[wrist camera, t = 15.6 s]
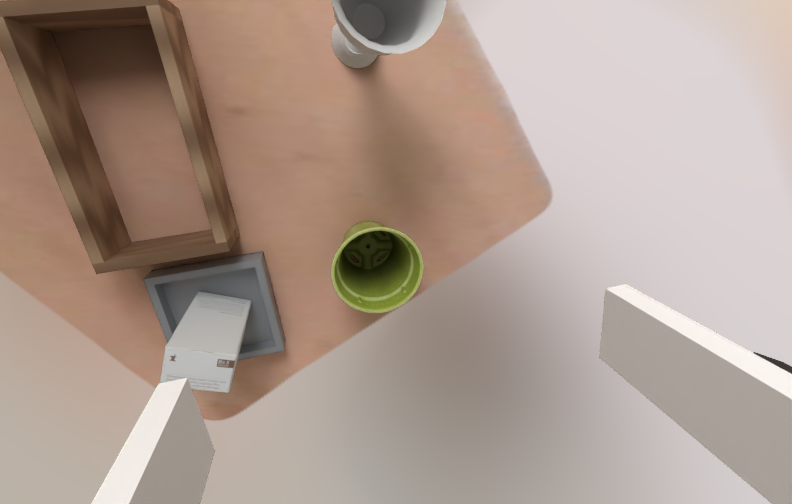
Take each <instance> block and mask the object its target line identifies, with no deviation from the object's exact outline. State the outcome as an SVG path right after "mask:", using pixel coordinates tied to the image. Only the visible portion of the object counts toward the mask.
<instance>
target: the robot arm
mask: <svg viewBox="0 0 792 504" xmlns="http://www.w3.org/2000/svg"><path fill="white" fill-rule="evenodd" d="M599 358H600V359H601V360H603V361H604V362H605V363H606V364H608V366H610V367H611V368H612V369H613V370H614V371H616V372H617V373H618V374H619V375H620V376H622V377H623V378H624V379H625V380H626V381H627V382H629V383H630V384H631V385H632V386H634V387H635V388H636V389H637V390H638V391H639V392H640V393H642V394H643V395H644V396H645V397H646V398H647V399H649V400H650V401H651V402H652V403H653V404H655V405H656V406H657V407H658V408H660V410H662V411H663V412H664V413H665V414H666V415H668V416H669V417H670V418H671V419H672V420H674V421H675V422H676V423H677V424H678V425H679V426H681V427H682V428H683V429H684V430H685V431H687V432H688V433H689V434H690V435H691V436H692V437H694V438H695V439H696V440H697V441H698V442H699V443H701V444H702V445H703V446H704V447H705V448H707V449H708V450H709V451H710V452H711V453H712V454H714V455H715V456H716V457H717V458H718V459H720V460H721V461H722V462H723V463H724V464H725V465H727V466H728V467H729V468H730V469H731V470H733V471H734V472H735V473H736V474H737V475H738V476H740V477H741V478H742V479H743V480H744V481H746V482H747V483H748V484H749V485H750V486H751V487H753V488H754V489H755V490H756V491H758V492H759V493H760V494H761V495H762V496H763V497H765V498H766V499H767V500H768V501H769V502H770V503H772V504H792V367H791V366H789V365H787V364H785V363H783V362H781V361H778V360H775V359H772V358H769V357H766V356H764V355H761V354H758V353H755V352H754V353H752V352H750V351H748V350H746V349H745V348H743V347H741V346H739V345H737V344H735V343H734V342H732V341H730V340H728V339H726V338H724V337H722V336H721V335H718V334H717V333H715V332H713V331H711V330H710V329H708V328H706V327H704V326H702V325H700V324H698V323H696V322H695V321H693V320H691V319H689V318H687V317H686V316H684V315H682V314H680V313H678V312H676V311H674V310H673V309H671V308H669V307H667V306H665V305H663V304H662V303H659V302H658V301H656V300H654V299H652V298H650V297H649V296H647V295H645V294H643V293H641V292H639V291H638V290H635V289H634V288H632V287H630V286H628V285H626V284H624V285H619V286H615V287H610V288H606V289H605V298H604V311H603V322H602V332H601V344H600V355H599ZM214 452H215V450H214V448H213V445H212V442H211V440H210V437H209V434H208V431H207V428H206V426H205V424H204V420H203V418H202V415H201V412H200V410H199V407H198V404H197V402H196V399H195V396H194V394H193V391H192V388H191V386H190V383H189V380H188V378H183V379H179V380H174V381H169V382H165V383H160V384H158V386H157V387H156V389H155V391H154V393H153V395H152V396H151V398H150V400H149V402H148V403H147V405H146V407H145V409H144V410H143V412H142V414H141V416H140V418H139V419H138V421H137V423H136V425H135V426H134V428H133V430H132V432H131V434H130V436H129V437H128V439H127V441H126V443H125V444H124V446H123V448H122V450H121V451H120V453H119V455H118V457H117V459H116V461H115V462H114V464H113V466H112V468H111V469H110V471H109V473H108V475H107V476H106V478H105V480H104V482H103V483H102V485H101V487H100V489H99V491H98V492H97V494H96V496H95V498H94V499H93V501H92V503H91V504H200V502H201V499H202V495H203V491H204V488H205V484H206V481H207V477H208V474H209V470H210V466H211V463H212V460H213V456H214Z"/></svg>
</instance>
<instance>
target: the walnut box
mask: <svg viewBox="0 0 792 504" xmlns="http://www.w3.org/2000/svg"><path fill="white" fill-rule="evenodd" d="M144 24H151V26H152V29H153V33H154V36H155V39H156V43H157V46H158V50H159V53H160V56H161V60H162V63H163V66H164V70H165V73H166V77H167V80H168V83H169V87H170V90H171V93H172V97H173V100H174V104H175V107H176V110H177V114H178V117H179V120H180V124H181V127H182V131H183V134H184V137H185V141H186V144H187V147H188V151H189V154H190V158H191V161H192V164H193V168H194V171H195V174H196V178H197V181H198V185H199V188H200V191H201V195H202V198H203V201H204V205H205V208H206V212H207V215H208V218H209V222H210V225H211V228H212V230H206V231H200V232H194V233H188V234H181V235H175V236H169V237H163V238H156V239H150V240H144V241H138V242H131V240H130V238H129V235H128V232H127V230H126V227H125V224H124V222H123V219H122V217H121V214H120V211H119V209H118V206H117V203H116V201H115V198H114V195H113V193H112V190H111V187H110V185H109V182H108V180H107V177H106V174H105V172H104V169H103V166H102V164H101V161H100V158H99V156H98V153H97V150H96V148H95V145H94V143H93V140H92V137H91V135H90V132H89V129H88V127H87V124H86V121H85V119H84V116H83V113H82V111H81V108H80V106H79V103H78V100H77V98H76V95H75V92H74V90H73V87H72V84H71V82H70V79H69V76H68V74H67V71H66V69H65V66H64V63H63V61H62V58H61V55H60V53H59V50H58V47H57V45H56V42H55V39H54V37H53V34H52V32H59V31H71V30H83V29H96V28H108V27H120V26H132V25H144ZM0 48H1V51H2V53H3V55H4V58H5V60H6V63H7V65H8V67H9V70H10V72H11V74H12V77H13V79H14V81H15V84H16V86H17V88H18V91H19V93H20V95H21V98H22V100H23V103H24V105H25V107H26V110H27V112H28V114H29V117H30V119H31V121H32V124H33V126H34V128H35V131H36V133H37V135H38V138H39V140H40V142H41V145H42V147H43V150H44V152H45V154H46V157H47V159H48V161H49V164H50V166H51V168H52V171H53V173H54V175H55V178H56V180H57V182H58V185H59V187H60V189H61V192H62V194H63V197H64V199H65V201H66V204H67V206H68V208H69V211H70V213H71V215H72V218H73V220H74V222H75V225H76V227H77V229H78V232H79V234H80V237H81V239H82V241H83V244H84V246H85V248H86V251H87V253H88V255H89V258H90V260H91V262H92V265H93V267H94V269H95V272H96V274H99V273H105V272H111V271H117V270H123V269H129V268H135V267H141V266H147V265H152V264H158V263H164V262H170V261H176V260H182V259H188V258H194V257H200V256H205V255H211V254H217V253H223V252H229V251H230V250H231V248H232V246H233V245H234V243H235V241H236V239H237V238H238V236H239V234H240V233H239V230H238V226H237V222H236V219H235V215H234V211H233V207H232V204H231V200H230V196H229V193H228V189H227V185H226V182H225V178H224V174H223V170H222V167H221V163H220V159H219V156H218V152H217V148H216V145H215V141H214V137H213V134H212V130H211V126H210V122H209V119H208V115H207V111H206V108H205V104H204V100H203V97H202V93H201V89H200V85H199V82H198V78H197V74H196V71H195V67H194V63H193V60H192V56H191V52H190V49H189V45H188V41H187V37H186V34H185V30H184V26H183V23H182V19H181V15H180V12H179V9H178V8H177V7H176V6H174V5H173V4H172V3H171V2H169V1H168V0H7V1H0Z"/></svg>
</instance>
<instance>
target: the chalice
mask: <svg viewBox="0 0 792 504" xmlns="http://www.w3.org/2000/svg"><path fill="white" fill-rule="evenodd" d="M331 2H332V4H333V9H334V17H335V19H336V24H335V26H334V27H333V30H332V36H331V40H332V47H333V50H334V52H335V55H336V56H337V57H338V58H339V60H340V61H341V62H343V63H344V64H345V65H347V66H349V67H352V68H364V67H366V66H369V65H370V64H371V63H372V62H374V61H375V59H376V58H377V56H378V55H389V54H392V53H405V52H408V51H411V50H414V49H417V48H419V47H420V46H421V45H423V44H424V43H425V42H426V41H428V40H429V39H430V38H431V37H432V36H433V35H434V33H435V31H436V30H437V28H438V26H439V25H440V23H441V22H442V19H443V15H444V11H445V7H446V2H447V0H331Z"/></svg>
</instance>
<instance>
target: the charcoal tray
mask: <svg viewBox="0 0 792 504" xmlns="http://www.w3.org/2000/svg"><path fill="white" fill-rule="evenodd" d="M143 280H144V283H145V285H146V288H147V290H148V293H149V296H150V298H151V301H152V304H153V306H154V309H155V311H156V314H157V317H158V319H159V322H160V325H161V327H162V330H163V333H164V335H165V338H166V340H167V343H168V342H169V340H170V339H171V337H172V335H173V333H174V331H175V329H176V328H177V326H178V324H179V323H180V321H181V319H182V318H183V316H184V314H185V313H186V311H187V309H188V308H189V306H190V304H191V303H192V301H193V299H194V298H195V296H196V294H197V292H199V291H200V292H206V293H212V294H217V295H223V296H229V297H234V298H240V299H246V300H251V302H252V303H251V307H250V311H249V314H248V319H247V323H246V328H245V332H244V336H243V340H242V344H241V348H240V352H239V356H238V360H242V359H247V358H252V357H257V356H261V355H266V354H271V353H276V352H280V351H284V347H285V336H284V332H283V328H282V324H281V320H280V316H279V313H278V309H277V305H276V301H275V297H274V293H273V289H272V285H271V281H270V277H269V273H268V269H267V265H266V261H265V257H264V253H263V252H257V253H251V254H246V255H240V256H234V257H228V258H222V259H216V260H211V261H205V262H199V263H193V264H187V265H181V266H176V267H170V268H164V269H158V270H152V271H151V272H150V273H149V274H148V275H147V276H146V277H145V278H144V279H143ZM238 360H237V361H238Z"/></svg>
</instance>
